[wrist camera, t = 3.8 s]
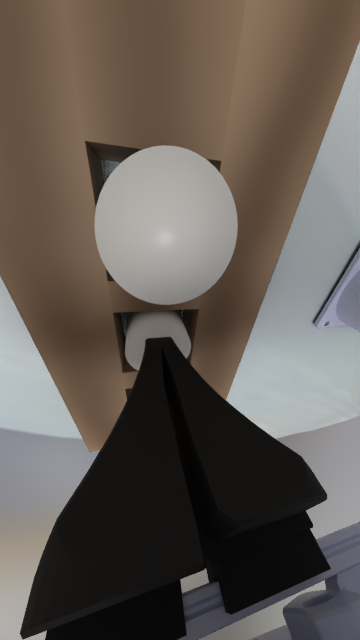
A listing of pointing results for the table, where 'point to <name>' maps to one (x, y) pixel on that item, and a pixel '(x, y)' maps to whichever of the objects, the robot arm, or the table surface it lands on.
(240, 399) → the table surface
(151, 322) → the grey plug middle
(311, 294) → the table surface
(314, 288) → the table surface
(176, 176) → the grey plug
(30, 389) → the table surface
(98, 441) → the walnut board
